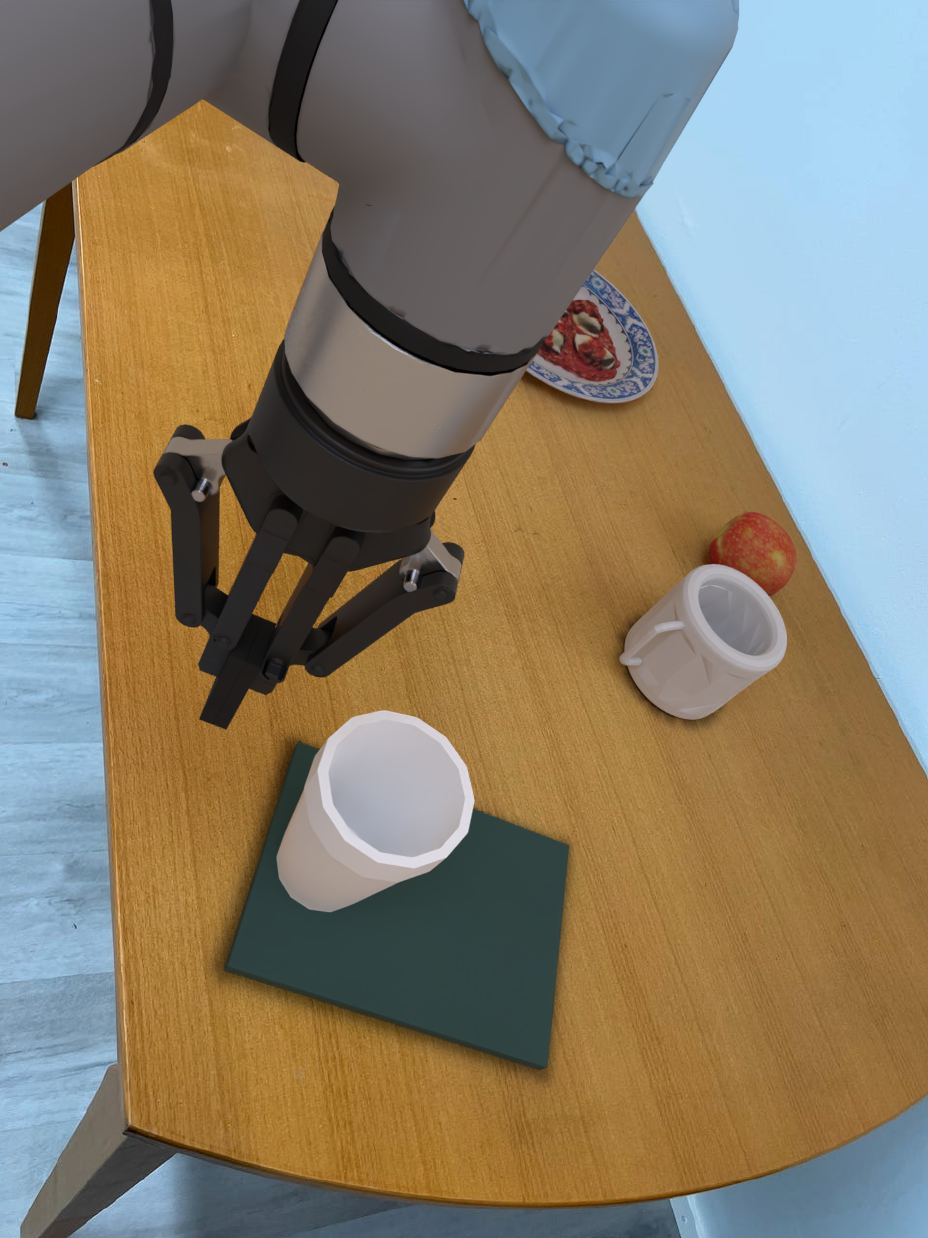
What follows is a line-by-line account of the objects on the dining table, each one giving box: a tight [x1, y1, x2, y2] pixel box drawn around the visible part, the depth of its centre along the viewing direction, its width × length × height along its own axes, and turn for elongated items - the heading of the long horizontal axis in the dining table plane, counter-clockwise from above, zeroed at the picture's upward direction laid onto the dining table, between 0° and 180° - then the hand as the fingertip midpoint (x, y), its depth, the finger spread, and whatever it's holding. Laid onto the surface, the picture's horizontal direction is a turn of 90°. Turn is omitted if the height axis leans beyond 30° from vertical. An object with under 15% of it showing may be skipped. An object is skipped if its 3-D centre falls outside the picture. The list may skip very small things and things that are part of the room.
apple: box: [707, 511, 797, 597], centre depth 99 cm, size 8×8×8 cm
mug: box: [618, 564, 788, 720], centre depth 86 cm, size 14×11×10 cm
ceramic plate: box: [525, 269, 660, 404], centre depth 111 cm, size 26×26×3 cm
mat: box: [223, 741, 570, 1071], centre depth 66 cm, size 22×16×1 cm
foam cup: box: [276, 709, 475, 912], centre depth 59 cm, size 10×9×13 cm
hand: (221, 703), depth 51 cm, fingers closed
